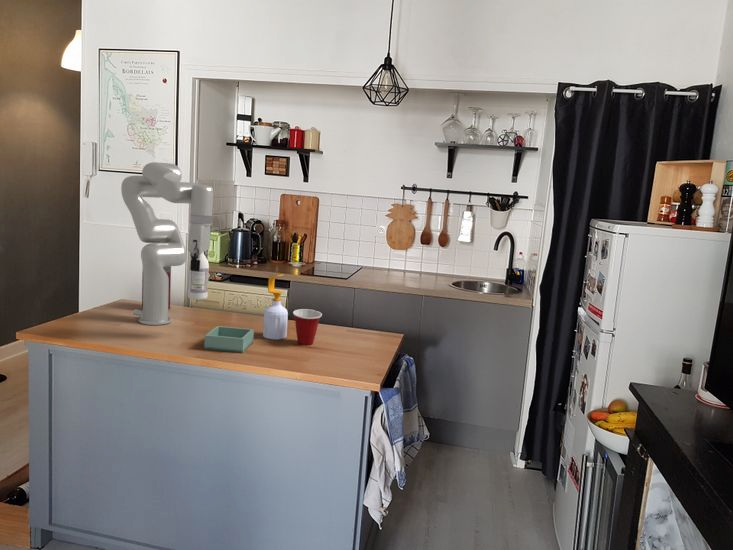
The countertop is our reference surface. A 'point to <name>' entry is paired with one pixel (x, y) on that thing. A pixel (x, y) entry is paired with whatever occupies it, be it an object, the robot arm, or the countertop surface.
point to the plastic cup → (306, 325)
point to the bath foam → (199, 280)
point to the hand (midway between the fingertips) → (198, 268)
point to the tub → (229, 339)
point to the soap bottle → (275, 315)
